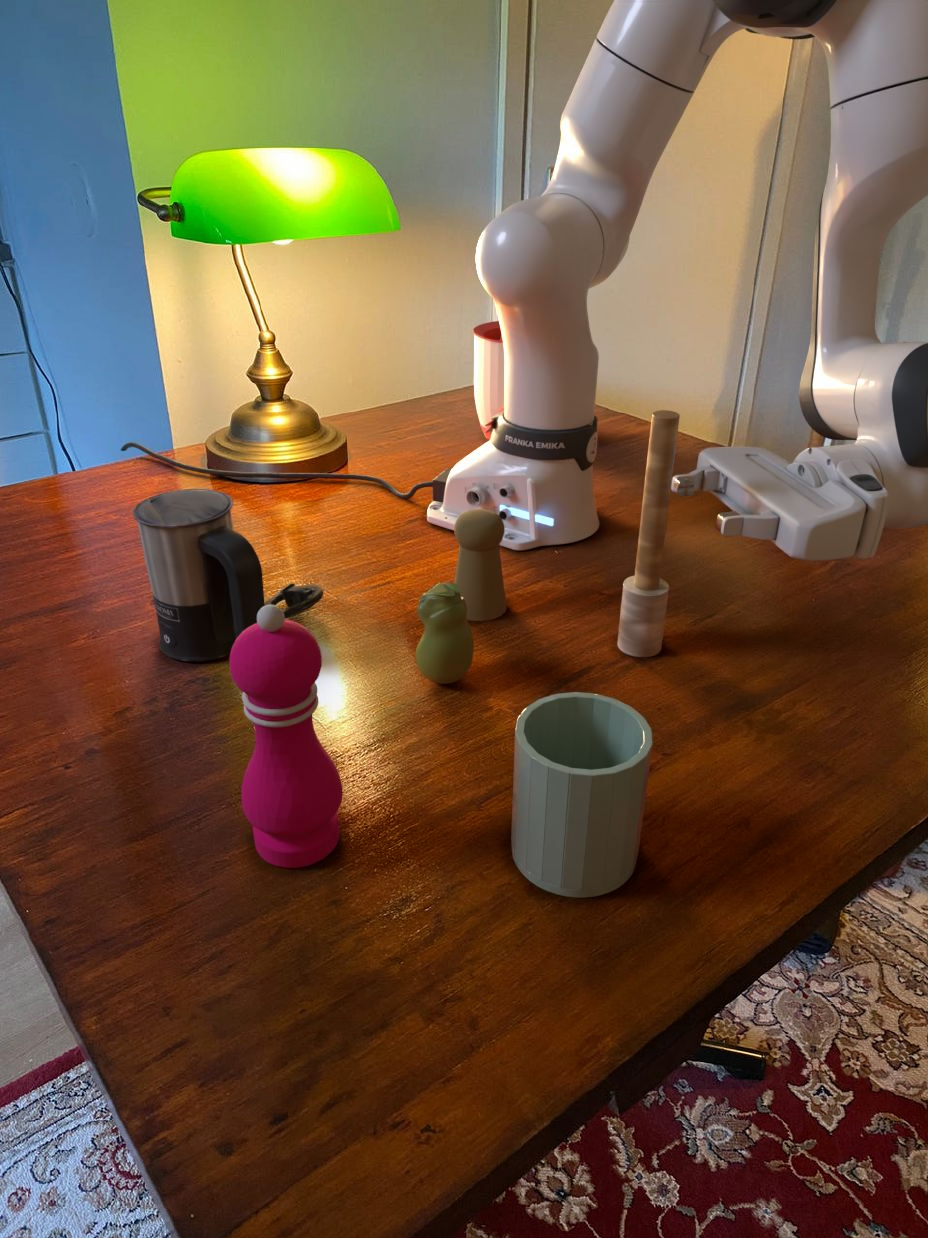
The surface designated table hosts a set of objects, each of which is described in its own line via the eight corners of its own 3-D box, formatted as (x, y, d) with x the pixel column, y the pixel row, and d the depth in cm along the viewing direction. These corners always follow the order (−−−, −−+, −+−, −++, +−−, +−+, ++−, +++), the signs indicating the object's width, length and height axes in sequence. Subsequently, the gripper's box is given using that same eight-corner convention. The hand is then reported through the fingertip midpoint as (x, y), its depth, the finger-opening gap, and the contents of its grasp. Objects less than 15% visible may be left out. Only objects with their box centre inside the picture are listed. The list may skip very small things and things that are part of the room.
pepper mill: (254, 808, 71) (220, 582, 61) (347, 803, 71) (328, 578, 61) (243, 877, 65) (202, 638, 55) (344, 871, 65) (323, 632, 55)
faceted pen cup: (491, 871, 65) (493, 750, 60) (539, 794, 72) (545, 679, 67) (614, 915, 62) (628, 791, 56) (651, 830, 69) (668, 712, 63)
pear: (451, 701, 83) (451, 606, 78) (404, 684, 86) (401, 591, 81) (483, 672, 88) (484, 581, 83) (437, 657, 90) (435, 567, 85)
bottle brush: (611, 651, 91) (634, 417, 79) (624, 631, 94) (648, 404, 82) (654, 661, 89) (684, 424, 77) (666, 640, 93) (696, 410, 81)
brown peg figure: (513, 598, 100) (516, 506, 95) (496, 625, 95) (498, 529, 90) (461, 590, 102) (461, 499, 97) (443, 615, 97) (441, 521, 92)
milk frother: (138, 652, 91) (110, 516, 83) (229, 584, 103) (211, 460, 96) (261, 682, 86) (242, 540, 79) (340, 606, 99) (330, 478, 91)
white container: (593, 433, 149) (603, 307, 139) (525, 460, 138) (530, 325, 128) (521, 413, 158) (525, 293, 148) (452, 437, 148) (451, 309, 138)
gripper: (776, 427, 95) (654, 436, 92) (901, 501, 78) (756, 516, 75) (766, 483, 98) (647, 494, 96) (884, 566, 81) (743, 583, 78)
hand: (696, 504), depth 85 cm, fingers open, 8 cm apart
